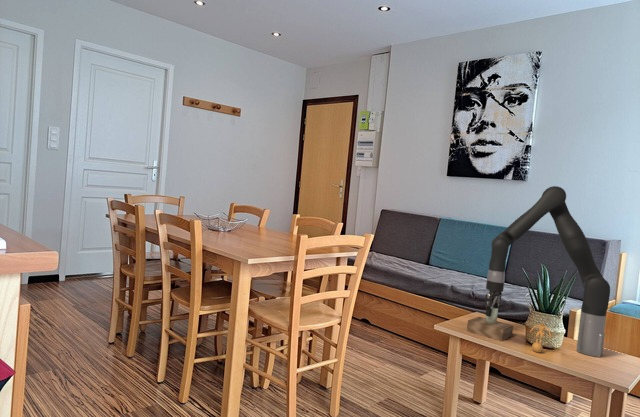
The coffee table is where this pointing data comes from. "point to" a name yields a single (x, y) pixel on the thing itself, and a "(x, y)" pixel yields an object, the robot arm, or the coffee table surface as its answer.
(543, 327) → the figurine
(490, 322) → the sage canister
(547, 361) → the coffee table surface
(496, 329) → the walnut box
